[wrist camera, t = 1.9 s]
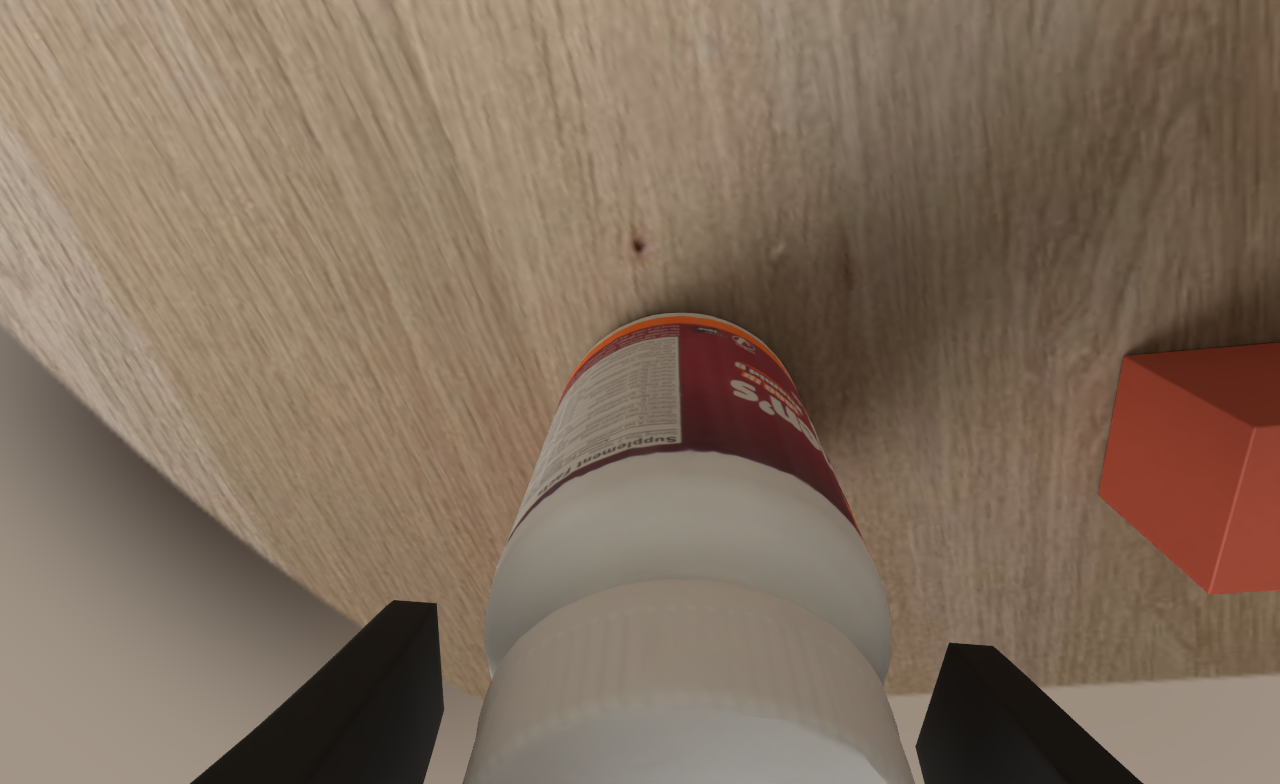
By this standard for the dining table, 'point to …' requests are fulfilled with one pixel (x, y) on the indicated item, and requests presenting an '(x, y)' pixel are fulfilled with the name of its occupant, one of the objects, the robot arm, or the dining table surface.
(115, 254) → the dining table surface
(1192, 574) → the block
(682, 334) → the pill bottle
